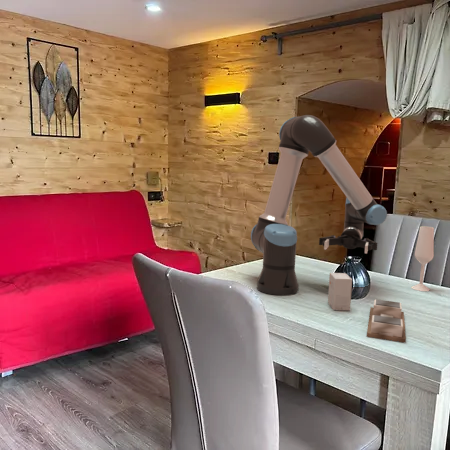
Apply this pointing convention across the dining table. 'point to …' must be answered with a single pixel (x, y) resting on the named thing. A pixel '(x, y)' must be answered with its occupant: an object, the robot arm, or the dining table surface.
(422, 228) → the champagne flute
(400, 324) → the board
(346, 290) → the small box
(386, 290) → the dining table surface
